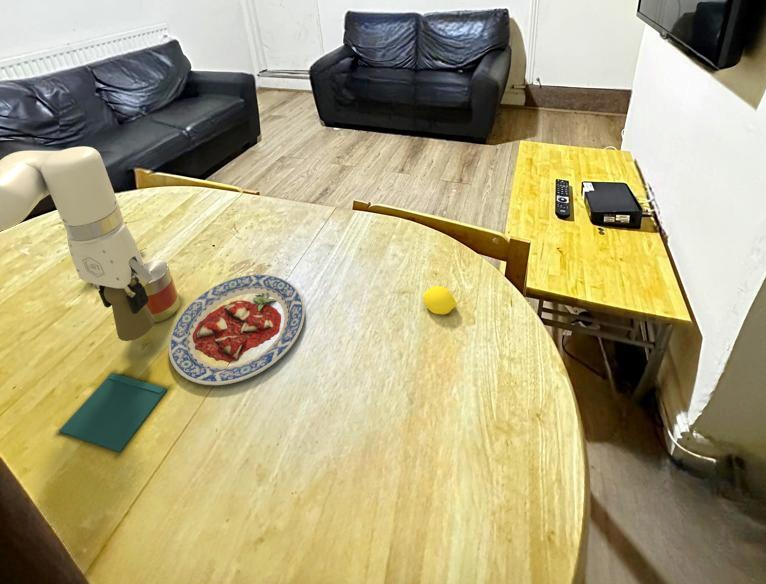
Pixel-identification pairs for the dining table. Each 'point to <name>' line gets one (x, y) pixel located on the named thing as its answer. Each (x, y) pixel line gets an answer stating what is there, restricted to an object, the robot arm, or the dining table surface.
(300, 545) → the dining table surface
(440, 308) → the lemon
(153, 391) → the notepad
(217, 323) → the ceramic plate
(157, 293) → the tin can
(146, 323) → the brown pepper mill
